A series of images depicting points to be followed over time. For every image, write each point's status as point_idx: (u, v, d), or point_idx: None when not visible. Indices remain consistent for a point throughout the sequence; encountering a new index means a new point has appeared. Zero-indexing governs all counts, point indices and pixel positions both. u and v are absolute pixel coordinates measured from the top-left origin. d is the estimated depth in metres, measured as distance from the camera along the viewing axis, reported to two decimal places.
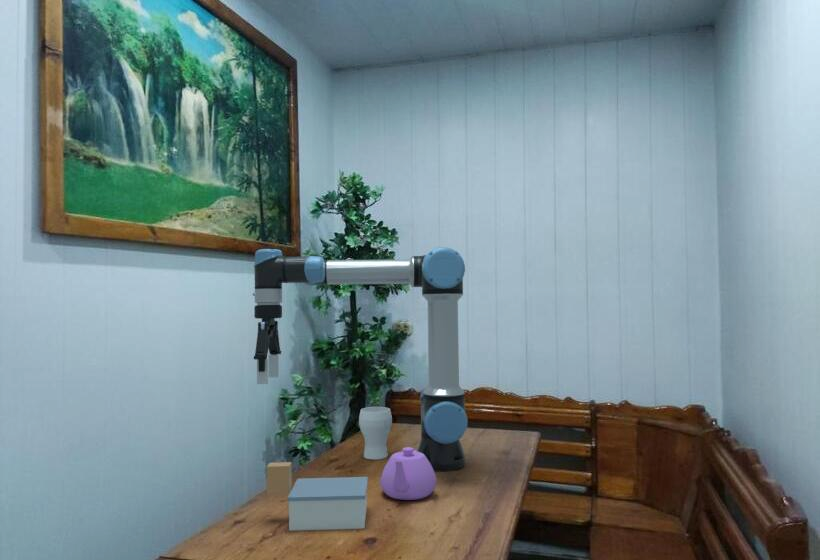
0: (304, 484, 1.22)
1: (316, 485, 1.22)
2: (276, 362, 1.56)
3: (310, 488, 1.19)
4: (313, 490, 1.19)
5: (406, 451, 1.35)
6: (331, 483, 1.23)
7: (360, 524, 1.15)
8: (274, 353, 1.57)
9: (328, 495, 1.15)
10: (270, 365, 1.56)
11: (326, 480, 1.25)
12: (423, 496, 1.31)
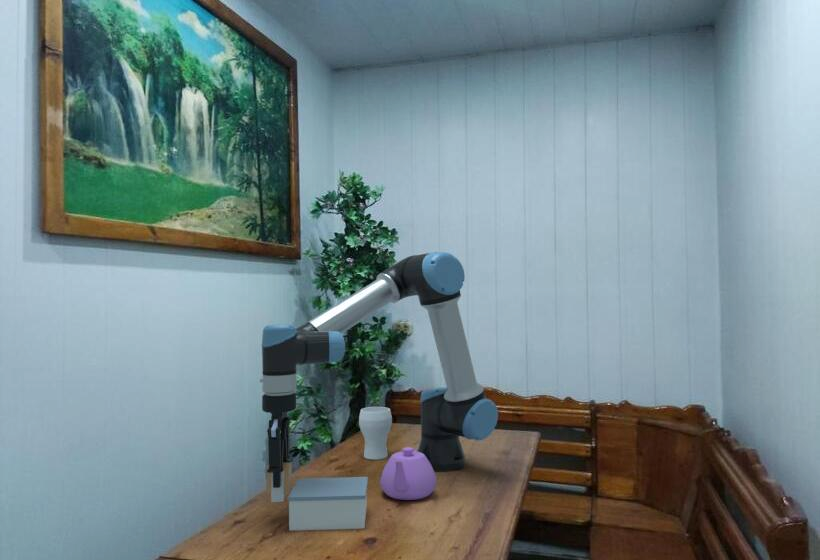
0: (304, 484, 1.22)
1: (316, 485, 1.22)
2: None
3: (310, 488, 1.19)
4: (313, 490, 1.19)
5: (406, 451, 1.35)
6: (331, 483, 1.23)
7: (360, 524, 1.15)
8: None
9: (328, 495, 1.15)
10: None
11: (326, 480, 1.25)
12: (423, 496, 1.31)
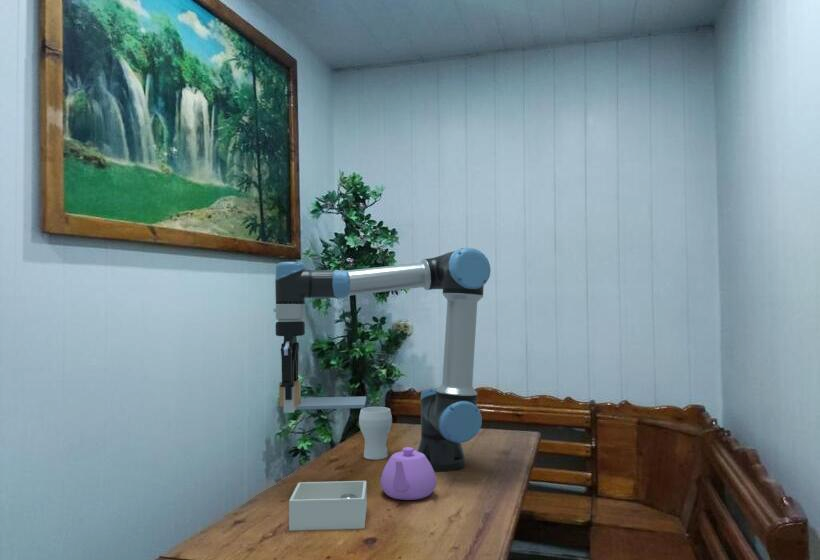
0: (311, 400, 1.42)
1: (322, 400, 1.41)
2: None
3: (317, 402, 1.39)
4: (319, 402, 1.38)
5: (406, 451, 1.35)
6: (335, 399, 1.42)
7: (360, 524, 1.15)
8: None
9: (332, 405, 1.35)
10: None
11: (330, 398, 1.44)
12: (423, 496, 1.31)
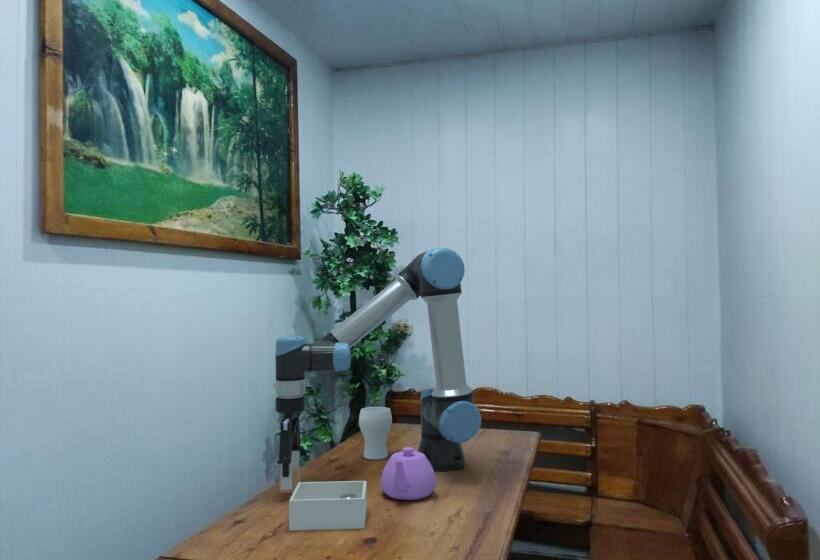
0: None
1: None
2: (297, 459, 1.44)
3: None
4: None
5: (406, 451, 1.35)
6: None
7: (360, 524, 1.15)
8: (295, 449, 1.45)
9: None
10: None
11: None
12: (423, 496, 1.31)
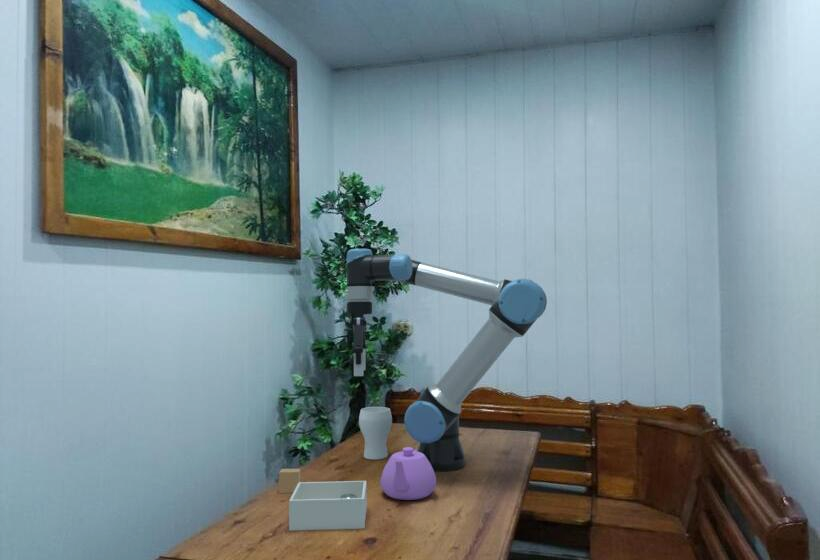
0: None
1: None
2: (364, 355, 1.65)
3: None
4: None
5: (406, 451, 1.35)
6: None
7: (360, 524, 1.15)
8: None
9: None
10: None
11: None
12: (423, 496, 1.31)
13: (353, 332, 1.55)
